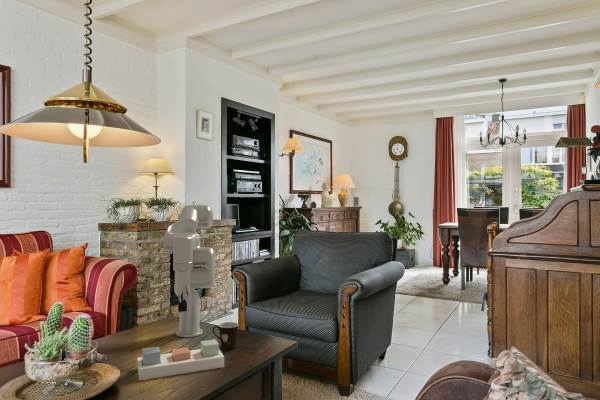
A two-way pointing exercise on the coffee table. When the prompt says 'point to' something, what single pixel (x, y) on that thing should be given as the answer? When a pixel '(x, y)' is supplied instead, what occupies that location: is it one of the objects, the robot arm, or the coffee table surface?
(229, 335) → the coffee mug
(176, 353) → the terracotta button
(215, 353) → the sage button
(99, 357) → the rabbit figure
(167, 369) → the button panel
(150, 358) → the slate button
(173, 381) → the coffee table surface
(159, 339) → the coffee table surface
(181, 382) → the coffee table surface
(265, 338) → the coffee table surface
